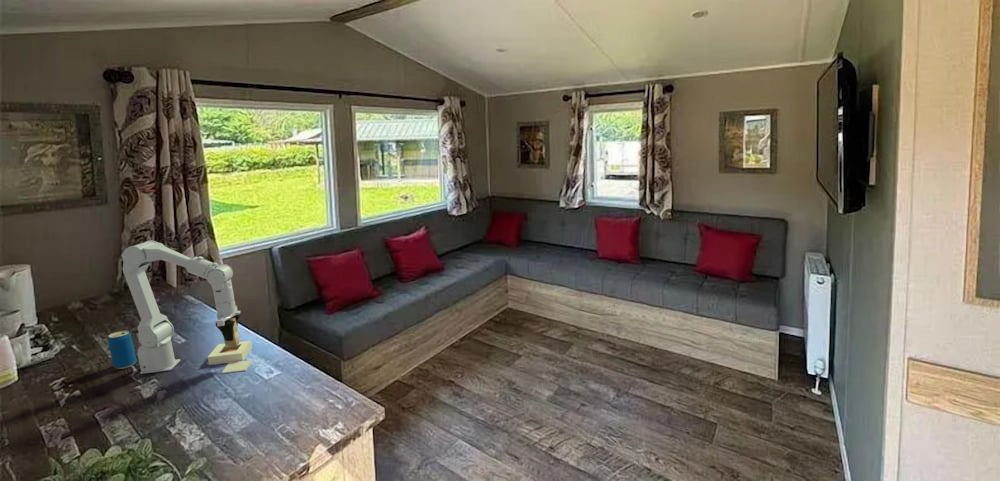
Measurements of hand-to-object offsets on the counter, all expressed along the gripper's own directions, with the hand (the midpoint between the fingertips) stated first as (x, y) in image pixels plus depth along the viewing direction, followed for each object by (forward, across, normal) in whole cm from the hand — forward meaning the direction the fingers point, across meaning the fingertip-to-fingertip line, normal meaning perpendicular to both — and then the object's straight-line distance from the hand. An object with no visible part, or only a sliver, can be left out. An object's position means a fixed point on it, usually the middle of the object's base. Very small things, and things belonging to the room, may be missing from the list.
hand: (231, 338), depth 167 cm
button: (+9, +7, +3) cm, 12 cm away
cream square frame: (+10, +7, +3) cm, 12 cm away
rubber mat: (+10, -3, -2) cm, 10 cm away
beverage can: (+10, +10, +38) cm, 41 cm away
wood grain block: (+2, 0, 0) cm, 2 cm away
